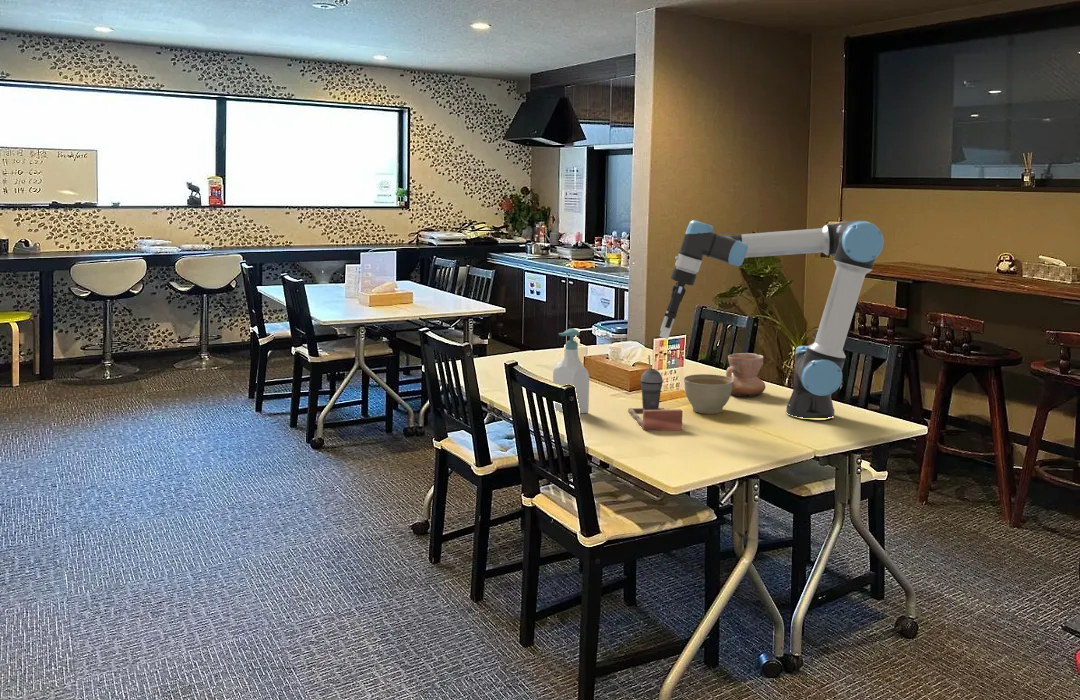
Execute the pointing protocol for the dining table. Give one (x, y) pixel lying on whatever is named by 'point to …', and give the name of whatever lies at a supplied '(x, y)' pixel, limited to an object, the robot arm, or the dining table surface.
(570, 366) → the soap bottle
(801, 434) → the dining table surface
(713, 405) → the planter bowl
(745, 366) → the ceramic jug
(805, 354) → the robot arm
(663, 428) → the brown tray
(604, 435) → the dining table surface
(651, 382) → the beverage cup
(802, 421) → the dining table surface
